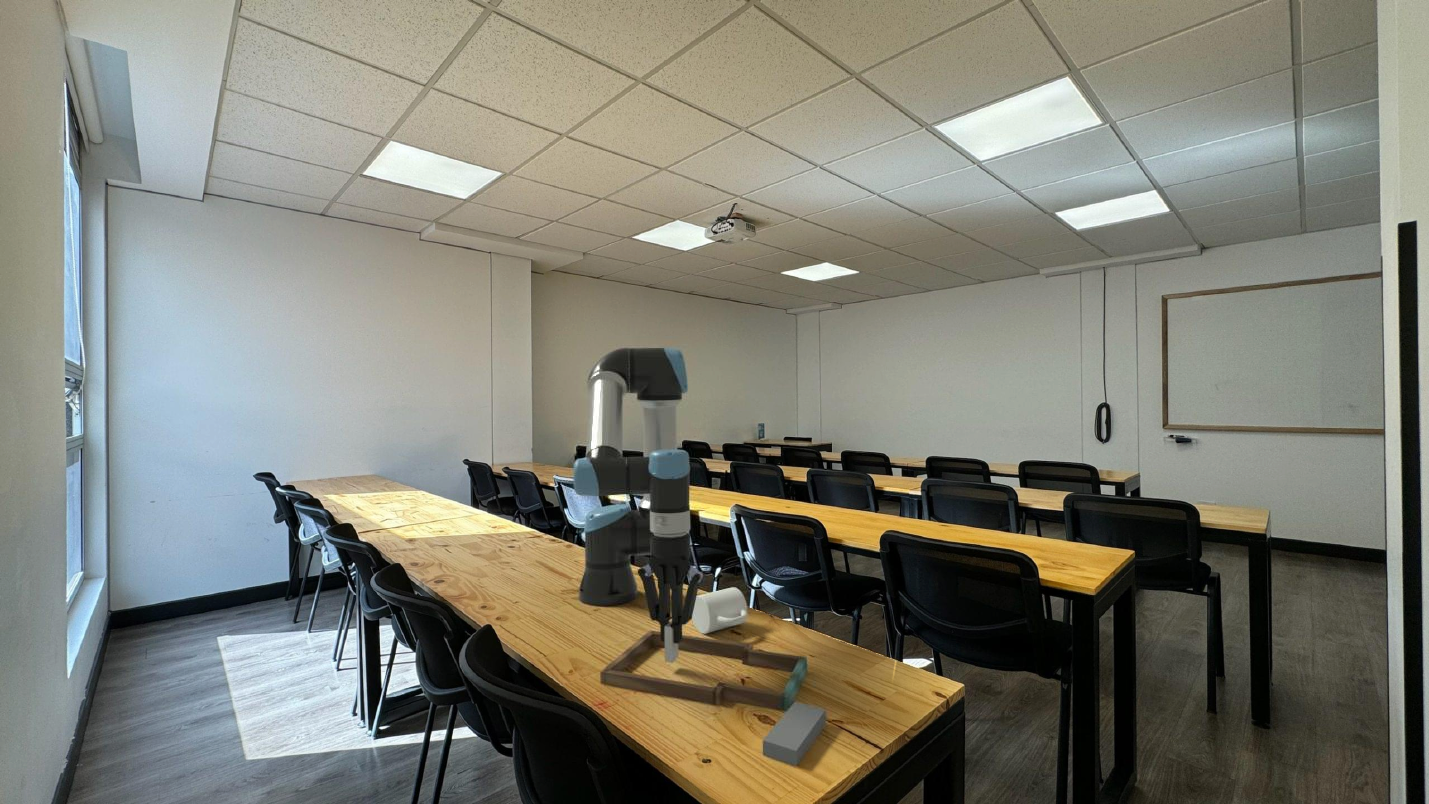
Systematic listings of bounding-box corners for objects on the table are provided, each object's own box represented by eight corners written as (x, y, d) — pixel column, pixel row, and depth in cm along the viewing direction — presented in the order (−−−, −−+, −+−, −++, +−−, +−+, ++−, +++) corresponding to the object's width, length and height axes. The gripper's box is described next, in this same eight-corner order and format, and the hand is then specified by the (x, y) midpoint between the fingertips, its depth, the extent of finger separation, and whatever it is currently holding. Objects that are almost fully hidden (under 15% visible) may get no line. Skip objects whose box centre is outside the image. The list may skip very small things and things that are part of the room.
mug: (690, 627, 128) (690, 591, 128) (726, 617, 134) (726, 583, 134) (721, 645, 118) (720, 607, 118) (759, 634, 124) (758, 597, 124)
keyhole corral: (649, 642, 120) (649, 630, 120) (809, 666, 108) (809, 652, 108) (600, 685, 102) (600, 671, 102) (785, 719, 90) (785, 703, 90)
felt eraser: (796, 773, 78) (796, 750, 78) (762, 761, 80) (762, 740, 80) (826, 729, 88) (825, 709, 88) (795, 720, 91) (795, 701, 91)
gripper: (629, 534, 106) (631, 662, 106) (694, 539, 102) (696, 673, 101) (648, 526, 113) (649, 646, 113) (709, 530, 109) (711, 655, 108)
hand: (671, 659), depth 107 cm, fingers closed
